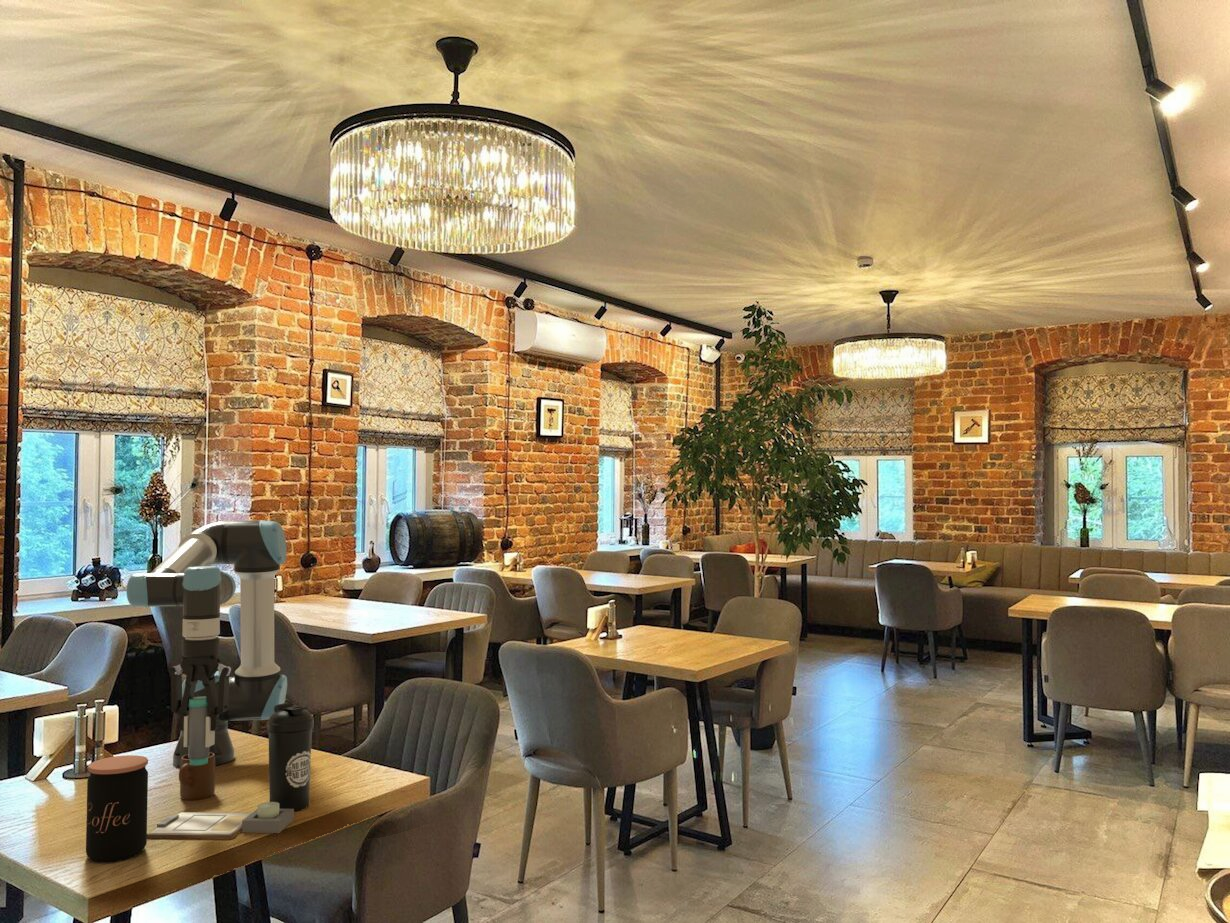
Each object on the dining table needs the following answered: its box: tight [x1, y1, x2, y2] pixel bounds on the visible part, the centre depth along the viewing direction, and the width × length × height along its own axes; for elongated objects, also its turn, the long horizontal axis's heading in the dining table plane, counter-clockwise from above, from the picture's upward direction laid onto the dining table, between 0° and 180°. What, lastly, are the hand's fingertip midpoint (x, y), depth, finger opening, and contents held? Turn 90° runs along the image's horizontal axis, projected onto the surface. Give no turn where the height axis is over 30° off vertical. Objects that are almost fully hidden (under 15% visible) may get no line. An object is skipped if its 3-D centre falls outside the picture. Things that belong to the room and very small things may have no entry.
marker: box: [188, 696, 209, 766], centre depth 206 cm, size 4×4×14 cm
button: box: [257, 801, 279, 819], centre depth 204 cm, size 4×4×3 cm
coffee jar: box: [85, 754, 149, 864], centre depth 188 cm, size 11×11×18 cm
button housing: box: [241, 808, 295, 834], centre depth 204 cm, size 8×8×2 cm
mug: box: [178, 752, 216, 801], centre depth 223 cm, size 12×8×9 cm, turn 178°
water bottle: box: [266, 702, 315, 813], centre depth 217 cm, size 10×10×23 cm
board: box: [147, 811, 252, 840], centre depth 203 cm, size 14×18×2 cm
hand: (199, 745), depth 206 cm, fingers closed on marker, 4 cm apart
